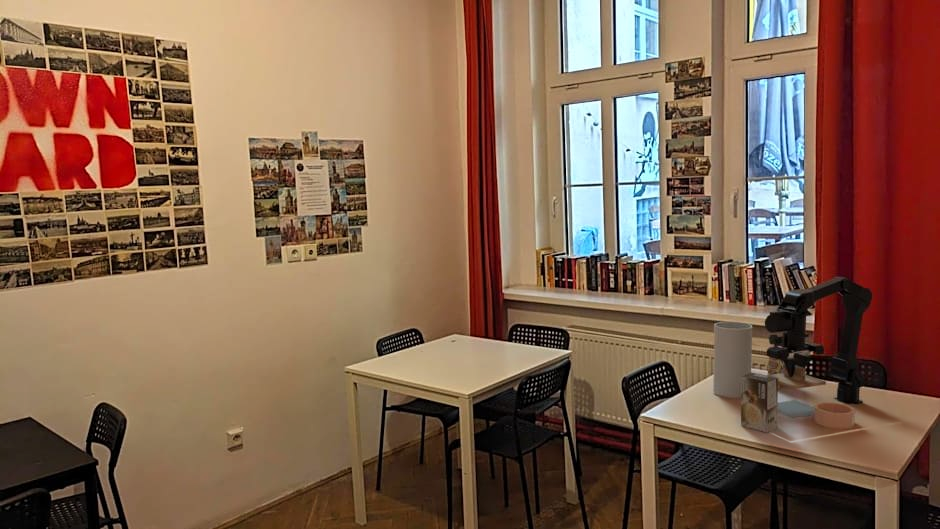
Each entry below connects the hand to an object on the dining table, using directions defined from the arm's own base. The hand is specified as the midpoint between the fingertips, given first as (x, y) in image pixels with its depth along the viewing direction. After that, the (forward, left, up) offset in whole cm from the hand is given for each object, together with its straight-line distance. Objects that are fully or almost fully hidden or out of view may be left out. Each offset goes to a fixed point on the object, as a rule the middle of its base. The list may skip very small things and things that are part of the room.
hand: (794, 376), depth 232 cm
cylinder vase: (+7, -22, -12) cm, 26 cm away
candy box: (-14, -23, -12) cm, 29 cm away
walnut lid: (0, 0, -2) cm, 2 cm away
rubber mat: (0, 0, -12) cm, 12 cm away
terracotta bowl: (-2, +14, -12) cm, 19 cm away
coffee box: (+21, +8, -12) cm, 25 cm away
